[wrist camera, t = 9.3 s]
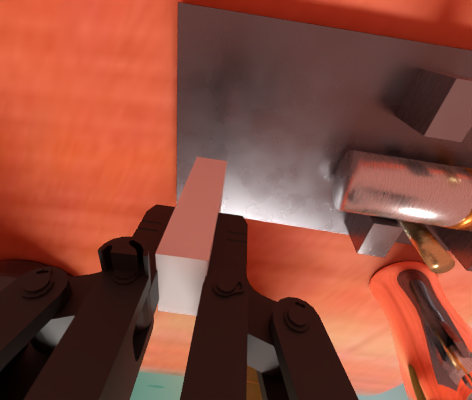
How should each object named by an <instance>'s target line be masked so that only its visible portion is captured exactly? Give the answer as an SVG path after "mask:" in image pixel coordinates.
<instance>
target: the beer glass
mask: <svg viewBox="0 0 472 400" xmlns="http://www.w3.org/2000/svg"><path fill="white" fill-rule="evenodd" d="M370 291H371V293H372V294H373V296H374V298H375V299H376V301H377V302H378V304H379V305H380V307H381V308H382V310H383V312H384V314H385V316H386V318H387V320H388V323H389V326H390V328H391V332H392V336H393V340H394V345H395V349H396V354H397V358H398V362H399V367H400V371H401V375H402V379H403V383H404V386H405V390H406V393H407V396H408V399H409V400H472V328H471V327H470V326H469V325H468V324H467V323H466V322H465V321H464V320H463V318H462V317H461V316H460V315H459V314H458V313H457V312H456V310H455V309H454V308H453V307H452V305H451V304H450V302H449V301H448V299H447V298H446V296H445V294H444V292H443V289H442V287H441V284H440V282H439V280H438V277H437V275H436V273H433V272H432V271H431V270H430V269H429V267H428V266H427V265H426V264H424V263H421V262H415V261H404V262H397V263H394V264H390V265H388V266H386V267H384V268H382V269H380V270H379V271H378V272H376V273H375V274H374V276H373V277H372V278H371V280H370Z"/></svg>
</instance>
